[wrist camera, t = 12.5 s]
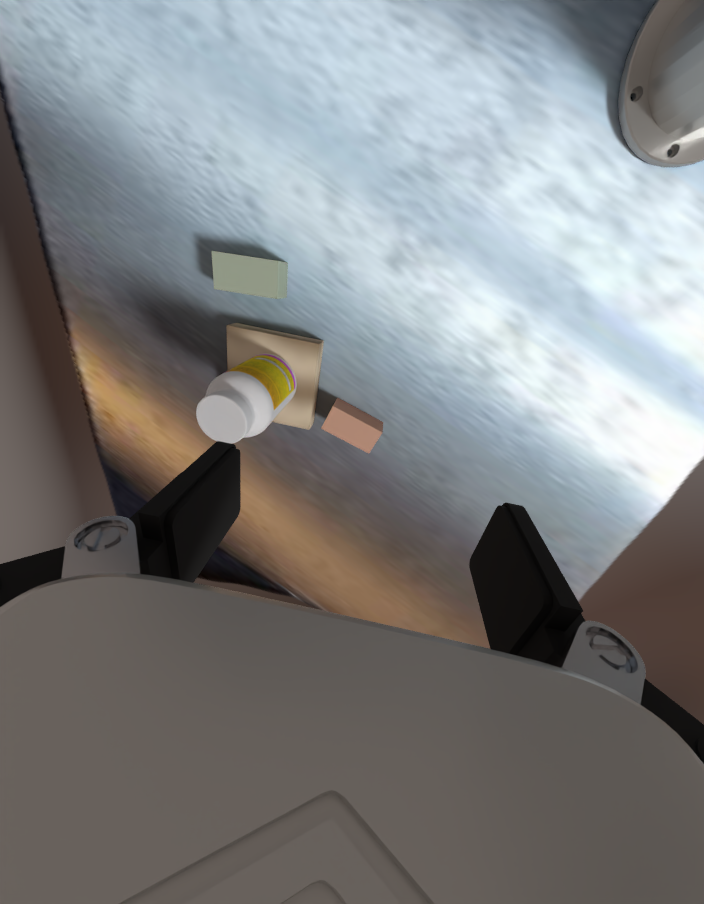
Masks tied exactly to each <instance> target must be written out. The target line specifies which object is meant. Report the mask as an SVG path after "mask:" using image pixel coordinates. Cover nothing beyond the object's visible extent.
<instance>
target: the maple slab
mask: <svg viewBox="0 0 704 904" xmlns="http://www.w3.org/2000/svg"><path fill="white" fill-rule="evenodd" d="M323 343H324V341H323V340H318V339H313V338H308V337H303V336H298V335H293V334H289V333H284V332H279V331H274V330H269V329H264V328H259V327H255V326H250V325H245V324H240V323H233V324H229V325H227V367H228V370H230V369H232V368H234V367H236V366H237V365H239V364H241V363H243V362H245V361H247V360H248V359H250V358H252V357H254V356H256V355H259V354H265V353H268V354H274V355H276V356H279V357H281V358H282V359H284V360H285V361H286V362H287V363H288V364H289V365H290V366H291V368H292V369H293V371H294V373H295V376H296V382H297V387H296V392H295V394H294V396H293V398H292V399H291V401H290V402H289V403H288V404H287V405H286V406H285V407H284V409H283V410H282V411H281V412H280V413H279V414H278V415H277V416H276V418H275V419H274V420H273V421H272V422H276V423H280V424H285V425H290V426H294V427H299V428H304V429H310V428H311V426H312V424H313V423H314V416H315V408H316V400H317V391H318V383H319V375H320V367H321V359H322V351H323Z"/></svg>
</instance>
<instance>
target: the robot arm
mask: <svg viewBox="0 0 704 904" xmlns="http://www.w3.org/2000/svg"><path fill="white" fill-rule="evenodd" d="M630 96H632V101H631V99H630ZM618 106H619V121H620V125H621V129H622V134H623V136H624V138H625V140H626V142H627V144H628V146H629V148H630V149H631V150H632V151H633V152H634V153H635V154H636V155H637V156H638V157H639V158H641V159H642V160H644V161H646V162H647V163H649V164H652V165H656V166H660V167H681V166H686V165H691V164H695V163H697V162H700V161H703V160H704V0H657V1H656V3H655V4H654V5H653V7H652V8H651V10H650V11H649V13H648V14H647V16H646V18H645V20H644V22H643V24H642V25H641V27H640V29H639V31H638V33H637V34H636V37H635V39H634V42H633V44H632V46H631V49H630V51H629V54H628V56H627V59H626V63H625V66H624V70H623V74H622V78H621V83H620V91H619V99H618ZM667 151H668V156H667ZM239 512H240V450H239V449H236V446H235V445H234V444H230V443H226V442H221V441H217V442H216V443H215V444H214V445H212V446H211V447H210V448H209V449H208V450H207V451H206V452H205V453H203V454H202V455H201V456H200V457H199V458H198V459H197V460H196V461H195V462H193V463H192V464H191V465H190V466H189V467H188V468H187V469H186V470H185V471H183V472H182V473H180V474H179V475H178V476H177V477H176V478H175V479H173V480H172V481H171V482H170V483H169V484H168V485H167V486H166V487H165V488H163V489H162V490H161V491H160V492H159V493H158V494H157V495H156V496H154V497H153V498H152V499H151V500H150V501H149V502H148V503H147V504H145V505H144V506H143V507H142V508H141V509H140V510H139V511H138V512H136V513H135V514H134V515H133V516H132V517H131V518H130V519H128V518H125V517H121V516H108V517H101V518H98V519H94V520H91V521H89V522H87V523H85V524H83V525H81V526H80V527H78V528H77V529H75V530H74V531H73V532H72V533H71V534H70V535H69V537H68V539H67V541H66V545H65V547H61V548H57V549H53V550H50V551H46V552H43V553H39V554H35V555H32V556H28V557H24V558H21V559H17V560H14V561H10V562H7V563H3V564H0V904H704V725H703V724H702V723H701V722H699V721H698V720H697V719H696V718H694V717H693V716H692V715H691V714H689V713H688V712H687V711H685V710H684V709H683V708H682V707H680V706H679V705H678V704H677V703H675V702H674V701H673V700H671V699H670V698H669V697H668V696H666V695H665V694H664V693H663V692H661V691H660V690H659V689H657V688H656V687H655V686H654V685H652V684H651V683H650V682H648V681H647V680H646V679H645V674H646V673H645V665H644V663H643V661H642V659H641V657H640V655H639V654H638V652H637V651H636V650H635V648H634V647H633V646H632V645H631V644H630V643H629V642H628V641H627V640H626V639H625V638H624V637H622V636H621V635H620V634H618V633H617V632H616V631H615V630H613V629H611V628H610V627H608V626H606V625H604V624H601V623H598V622H594V621H585V620H584V618H583V616H582V614H581V613H582V612H583V610H582V608H581V606H580V604H579V602H578V601H577V599H576V597H575V595H574V594H573V592H572V590H571V588H570V587H569V585H568V583H567V581H566V580H565V578H564V576H563V574H562V573H561V571H560V569H559V567H558V566H557V564H556V562H555V560H554V559H553V557H552V555H551V553H550V552H549V550H548V548H547V546H546V545H545V543H544V541H543V539H542V538H541V536H540V534H539V532H538V531H537V529H536V527H535V525H534V524H533V522H532V520H531V518H530V517H529V515H528V513H527V511H526V510H525V508H524V507H523V506H519V505H515V504H510V503H504V504H503V505H502V506H498V507H497V508H496V510H495V512H494V514H493V515H492V517H491V519H490V521H489V523H488V525H487V527H486V529H485V531H484V533H483V535H482V537H481V539H480V541H479V543H478V545H477V547H476V548H475V550H474V552H473V554H472V556H471V559H470V571H471V575H472V579H473V583H474V586H475V590H476V594H477V598H478V602H479V606H480V610H481V614H482V617H483V621H484V625H485V629H486V633H487V637H488V641H489V644H490V648H491V649H488V648H484V647H480V646H475V645H471V644H467V643H462V642H458V641H454V640H449V639H445V638H441V637H436V636H432V635H428V634H424V633H419V632H415V631H411V630H406V629H402V628H397V627H393V626H389V625H384V624H380V623H375V622H371V621H367V620H362V619H358V618H353V617H349V616H344V615H340V614H335V613H331V612H327V611H322V610H318V609H313V608H309V607H304V606H299V605H295V604H291V603H286V602H281V601H277V600H272V599H267V598H263V597H258V596H254V595H249V594H244V593H240V592H236V591H231V590H227V589H222V588H217V587H211V586H207V585H202V584H197V583H193V582H194V581H195V579H196V578H197V576H198V575H199V573H200V572H201V570H202V569H203V567H204V566H205V564H206V563H207V561H208V560H209V558H210V557H211V555H212V554H213V553H214V551H215V550H216V548H217V547H218V545H219V544H220V542H221V541H222V539H223V538H224V536H225V535H226V533H227V532H228V530H229V529H230V527H231V526H232V524H233V523H234V521H235V520H236V518H237V517H238V515H239Z"/></svg>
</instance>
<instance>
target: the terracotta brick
mask: <svg viewBox="0 0 704 904" xmlns="http://www.w3.org/2000/svg"><path fill="white" fill-rule="evenodd" d="M321 429H323V430H325V431H327V432H329V433H331V434H333V435H335V436H336V437H338V438H340V439H342V440H344V441H346V442H348V443H350V444H352V445H354V446H356V447H357V448H359V449H361V450H363V451H365V452H367V453H370V451H371V449H372V448H373V446H374V445H375V443H376V442H377V440H378V439H379V437H380V436H381V434H382V432H383V422H382V421H380V420H378V419H376V418H374V417H372V416H371V415H369V414H367V413H365V412H363V411H361V410H359V409H358V408H356V407H354V406H352V405H350V404H348V403H347V402H345V401H343V400H341V399H339V398H337V399H336V401H335V403H334V405H333V407H332V408H331V410H330V412H329V414H328V416H327V418H326V420H325V422H324V424H323V426H322V428H321Z"/></svg>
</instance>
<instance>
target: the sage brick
mask: <svg viewBox="0 0 704 904" xmlns="http://www.w3.org/2000/svg"><path fill="white" fill-rule="evenodd" d="M211 252H212V266H213V280H214V289H218V290H224V291H230V292H237V293H243V294H249V295H256V296H262V297H268V298H275V299H281V298H287V270H288V263H286V262H281V261H275V260H268V259H262V258H255V257H249V256H242V255H236V254H229V253H223V252H216V251H211Z"/></svg>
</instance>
